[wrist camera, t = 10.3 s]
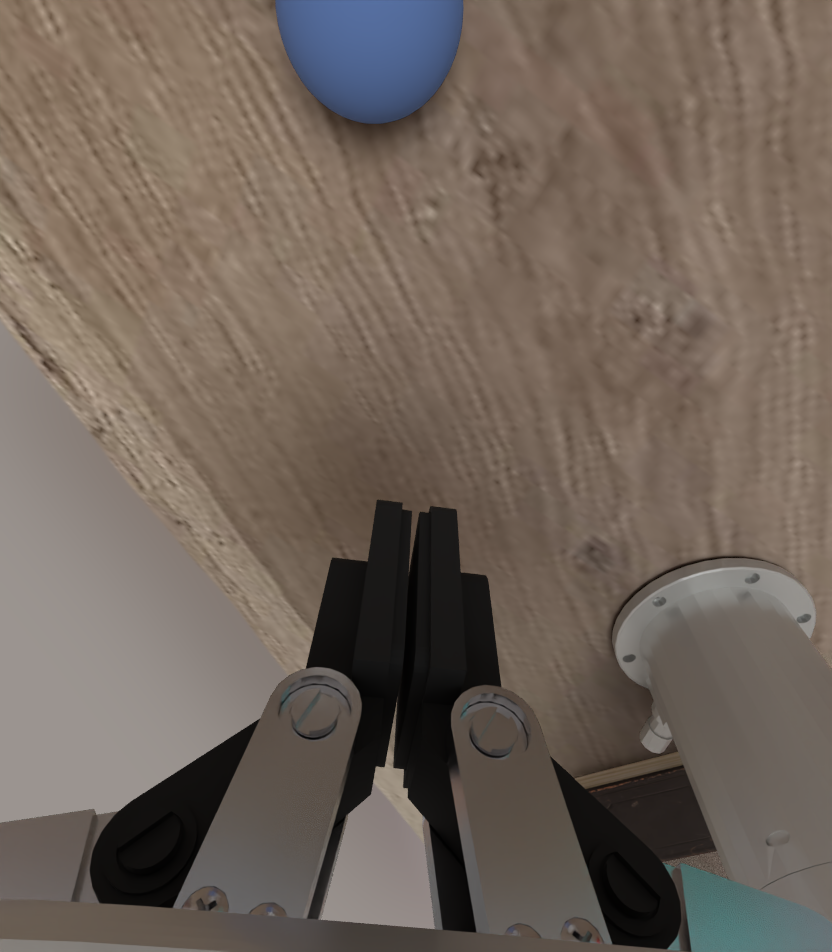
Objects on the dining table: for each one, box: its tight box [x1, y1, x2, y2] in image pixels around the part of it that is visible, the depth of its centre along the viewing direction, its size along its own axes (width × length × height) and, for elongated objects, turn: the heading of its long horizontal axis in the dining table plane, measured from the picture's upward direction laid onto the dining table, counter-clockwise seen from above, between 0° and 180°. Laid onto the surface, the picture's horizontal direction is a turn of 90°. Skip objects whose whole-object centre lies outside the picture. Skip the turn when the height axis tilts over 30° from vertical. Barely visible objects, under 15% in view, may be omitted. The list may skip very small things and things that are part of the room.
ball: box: [275, 0, 463, 124], centre depth 18 cm, size 6×6×6 cm
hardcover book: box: [574, 752, 717, 862], centre depth 48 cm, size 16×23×2 cm
